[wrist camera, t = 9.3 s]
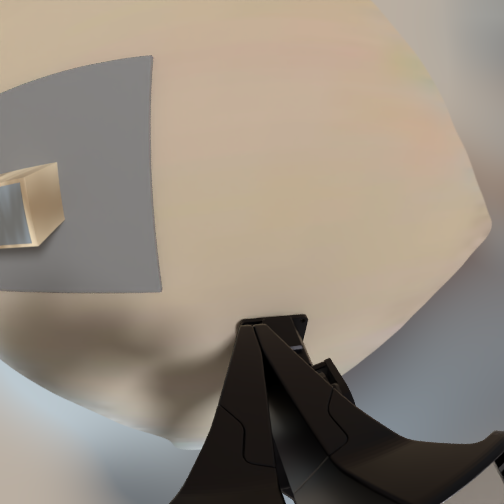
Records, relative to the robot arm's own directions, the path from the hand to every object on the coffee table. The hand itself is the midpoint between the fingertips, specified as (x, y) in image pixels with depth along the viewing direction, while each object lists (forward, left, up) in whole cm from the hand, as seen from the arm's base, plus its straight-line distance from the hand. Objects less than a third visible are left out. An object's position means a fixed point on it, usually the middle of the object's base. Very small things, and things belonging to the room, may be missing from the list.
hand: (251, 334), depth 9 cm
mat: (+2, +15, -13) cm, 20 cm away
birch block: (+2, +12, -10) cm, 16 cm away
